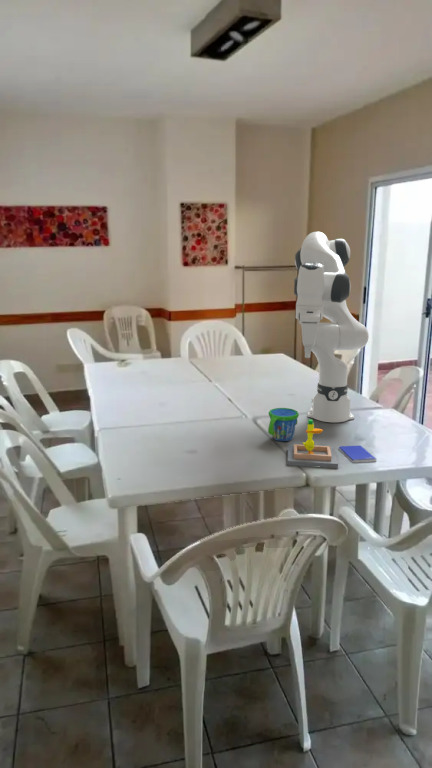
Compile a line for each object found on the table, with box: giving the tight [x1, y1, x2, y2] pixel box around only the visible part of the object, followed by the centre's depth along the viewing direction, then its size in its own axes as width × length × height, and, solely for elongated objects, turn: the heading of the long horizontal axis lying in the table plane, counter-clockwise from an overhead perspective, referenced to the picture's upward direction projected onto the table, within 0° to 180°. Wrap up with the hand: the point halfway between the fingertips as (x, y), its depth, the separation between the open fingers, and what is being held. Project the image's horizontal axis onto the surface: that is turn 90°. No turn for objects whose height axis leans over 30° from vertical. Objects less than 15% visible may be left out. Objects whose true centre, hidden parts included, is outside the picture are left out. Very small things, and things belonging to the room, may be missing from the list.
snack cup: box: [267, 407, 299, 442], centre depth 205 cm, size 16×10×10 cm
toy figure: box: [301, 418, 324, 454], centre depth 185 cm, size 7×4×12 cm, turn 95°
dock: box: [286, 443, 339, 469], centre depth 187 cm, size 14×16×3 cm
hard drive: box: [338, 445, 377, 464], centre depth 191 cm, size 2×8×12 cm
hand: (307, 354), depth 189 cm, fingers open, 8 cm apart
